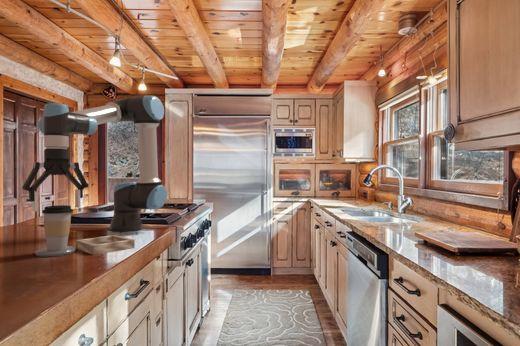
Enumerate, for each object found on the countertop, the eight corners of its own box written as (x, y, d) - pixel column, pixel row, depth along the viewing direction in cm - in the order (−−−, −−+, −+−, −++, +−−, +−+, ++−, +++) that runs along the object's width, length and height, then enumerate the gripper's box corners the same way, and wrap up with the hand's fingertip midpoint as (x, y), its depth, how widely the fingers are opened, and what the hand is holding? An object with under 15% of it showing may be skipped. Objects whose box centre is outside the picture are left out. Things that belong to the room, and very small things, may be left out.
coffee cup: (45, 247, 124) (46, 205, 124) (75, 245, 127) (75, 204, 127) (37, 253, 115) (38, 207, 115) (69, 251, 118) (70, 207, 118)
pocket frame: (115, 242, 139) (115, 235, 139) (134, 247, 130) (134, 239, 130) (75, 248, 128) (75, 240, 128) (93, 254, 118) (93, 246, 118)
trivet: (67, 247, 129) (67, 244, 129) (81, 252, 121) (81, 249, 121) (30, 253, 120) (30, 249, 120) (42, 258, 112) (42, 255, 112)
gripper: (88, 150, 133) (89, 205, 133) (10, 147, 114) (11, 211, 114) (97, 149, 128) (98, 206, 128) (17, 146, 109) (18, 213, 109)
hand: (57, 209), depth 121 cm, fingers open, 13 cm apart
